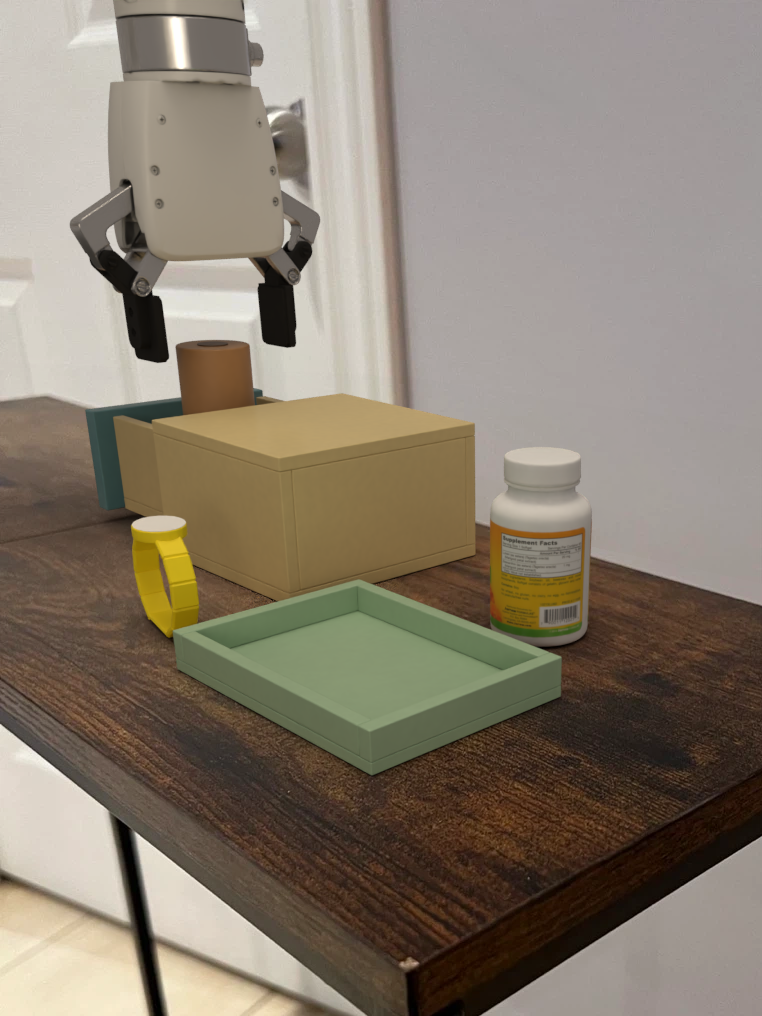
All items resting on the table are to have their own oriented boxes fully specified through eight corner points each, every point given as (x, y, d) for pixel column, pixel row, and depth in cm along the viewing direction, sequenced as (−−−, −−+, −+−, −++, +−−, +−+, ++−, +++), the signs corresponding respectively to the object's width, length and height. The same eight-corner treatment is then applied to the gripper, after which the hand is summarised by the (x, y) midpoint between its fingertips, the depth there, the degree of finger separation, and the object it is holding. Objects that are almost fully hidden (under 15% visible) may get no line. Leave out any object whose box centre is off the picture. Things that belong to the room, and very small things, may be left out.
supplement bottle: (513, 608, 66) (515, 439, 62) (601, 622, 65) (609, 449, 60) (473, 639, 62) (472, 459, 58) (566, 655, 60) (572, 471, 56)
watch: (127, 617, 64) (112, 512, 61) (175, 607, 65) (162, 505, 63) (165, 650, 60) (151, 539, 57) (216, 640, 61) (205, 531, 59)
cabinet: (167, 554, 74) (150, 419, 71) (348, 513, 84) (342, 393, 80) (290, 607, 66) (278, 457, 62) (475, 555, 75) (475, 422, 72)
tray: (176, 669, 58) (171, 629, 57) (360, 613, 65) (359, 578, 64) (371, 776, 48) (369, 730, 47) (561, 696, 55) (562, 656, 55)
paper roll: (182, 499, 79) (164, 347, 74) (205, 482, 83) (189, 337, 79) (250, 502, 79) (236, 349, 74) (270, 485, 83) (258, 339, 78)
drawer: (71, 496, 83) (56, 400, 80) (231, 467, 92) (223, 380, 89) (193, 546, 73) (181, 439, 70) (361, 508, 82) (356, 412, 79)
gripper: (271, 69, 77) (293, 335, 85) (16, 52, 66) (68, 360, 74) (338, 64, 73) (356, 345, 80) (77, 44, 61) (126, 374, 69)
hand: (218, 352), depth 77 cm, fingers open, 9 cm apart
